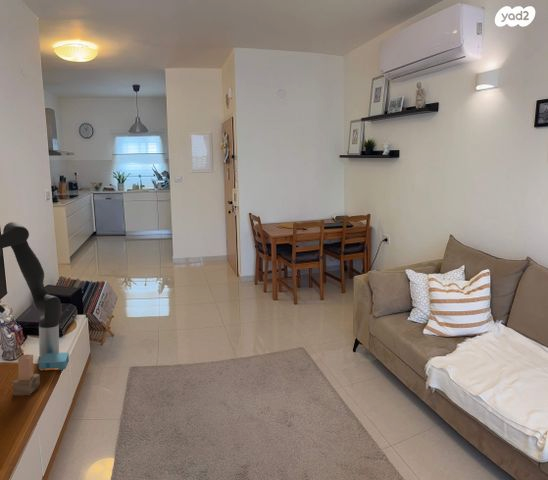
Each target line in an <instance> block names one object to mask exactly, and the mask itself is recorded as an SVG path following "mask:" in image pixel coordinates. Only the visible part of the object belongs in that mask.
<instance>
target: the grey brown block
mask: <svg viewBox="0 0 548 480" xmlns="http://www.w3.org/2000/svg"><path fill="white" fill-rule="evenodd" d="M40 375H41V374H40V373H33V377H32V378H31V379H30V380H23V381H18V378H16V379H15V380H14V381H13V382H12V396H24V395H28V396H31V395H32V394H33V393H34V392H35V391H36V390H37V389H38V388H39V387H38V386H39V385H40V386H41V379H40V377H41V376H40ZM37 387H38V388H37ZM36 388H37V389H36ZM35 389H36V390H35ZM34 390H35V391H34ZM33 391H34V392H33ZM32 392H33V393H32ZM31 393H32V394H31ZM30 394H31V395H30Z"/></svg>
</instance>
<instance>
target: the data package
mask: <svg viewBox="0 0 548 480" xmlns="http://www.w3.org/2000/svg"><path fill="white" fill-rule="evenodd" d="M69 355H70V353H69V352H59V353H46V354H43V356H42V358H41V359H40V358H39V359H40V360H39V361H38V370H39V369H46V368H59V370H58V371H64V370H66V369H67V366H68V363H69V359H70V357H69Z"/></svg>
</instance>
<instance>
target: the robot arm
mask: <svg viewBox="0 0 548 480" xmlns="http://www.w3.org/2000/svg"><path fill="white" fill-rule="evenodd" d="M29 237H30V233H29V230H28V229H27V228H26V227H25V226H24V225H22V224H21V223H18V222H14V221H12V222H11V221H10V222H8V223H6V224H5V225H4V227H3V228H2V233H1V234H0V250H1V249H5V248H9V247H10V248H11V250H12V251H13V254H14V257H15V260H16V262H17V264H18V265H17V266H18V267H19V269H20V272H21V274H22V277H23V278H24V280H25V282H26V284H27V287H28V289H29V290H30V294H31V296H32V300H33V304H34V306H35V307H36V309H37V310H38V311H39V312H41V313H44V317H43V318H41V319H40V320H39V322H38V337H39V339H38V344H39V345H38V346H39V347H38V349H39V350H38V352H39V353H38V354H39V359H41V358H42V356H43V354H46V353H60V342H59V341H60V332H59V331H60V330H59V329H60V324H59V322H60V320H61V314H62V313H61V312H62V311H61V309H62V306H61V305H62V304H61V299H60V298H59V297H58V296H55V295H52V294H49V293H48V291H47V289H46V287H45V284H44V280H45V271H44V268H43V267H42V264H41V262H40V260H39V258H38V257H37V255H36V254H35V252H34V250H33V249H32V248H31V246H30V245H29V243H28V240H29ZM0 303H1V300H0ZM5 312H6V308H5V307H3V306H2V305H1V304H0V313H1V314H3V313H5Z"/></svg>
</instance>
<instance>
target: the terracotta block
mask: <svg viewBox="0 0 548 480" xmlns="http://www.w3.org/2000/svg"><path fill="white" fill-rule="evenodd" d="M17 366H18V367H17V368H18V369H17V371H18V373H17V374H18V376H17V379H18V381H23V380H30V379H31V378H32V377H33V374H34V354H21V355H20V356H19V357H18V358H17Z"/></svg>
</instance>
